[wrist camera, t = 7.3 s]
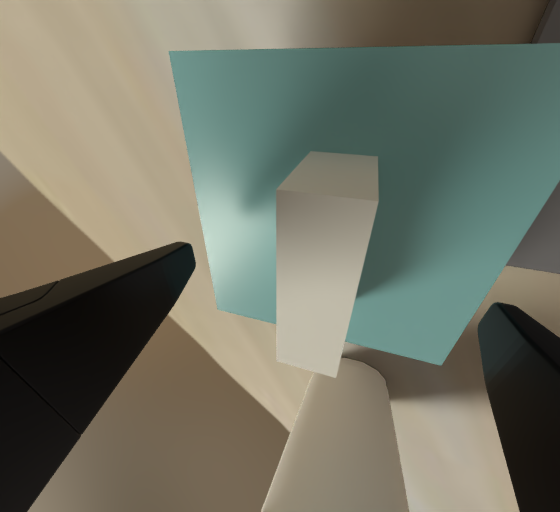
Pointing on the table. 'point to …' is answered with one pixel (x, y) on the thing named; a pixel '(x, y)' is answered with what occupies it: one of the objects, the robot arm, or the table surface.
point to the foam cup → (341, 448)
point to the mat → (556, 211)
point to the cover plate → (424, 181)
